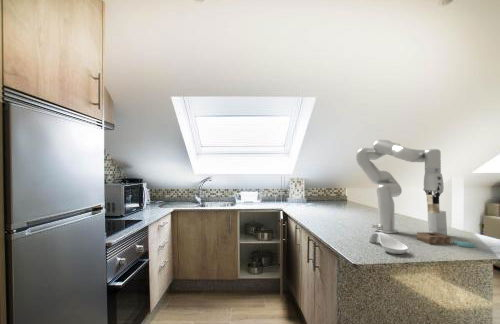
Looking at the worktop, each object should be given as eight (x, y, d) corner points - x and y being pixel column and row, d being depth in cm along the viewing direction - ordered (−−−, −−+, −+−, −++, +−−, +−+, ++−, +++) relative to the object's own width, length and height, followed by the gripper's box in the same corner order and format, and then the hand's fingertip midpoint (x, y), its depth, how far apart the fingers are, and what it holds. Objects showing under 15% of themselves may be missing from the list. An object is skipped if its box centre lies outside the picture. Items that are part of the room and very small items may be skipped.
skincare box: (447, 237, 159) (447, 211, 159) (436, 237, 159) (436, 211, 159) (437, 233, 167) (437, 209, 167) (427, 233, 167) (427, 209, 167)
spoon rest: (414, 256, 125) (413, 241, 125) (391, 257, 123) (391, 242, 123) (381, 242, 148) (381, 229, 148) (362, 243, 146) (362, 230, 146)
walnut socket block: (429, 244, 143) (429, 236, 143) (417, 239, 153) (417, 232, 153) (450, 244, 144) (450, 236, 144) (437, 239, 154) (436, 232, 154)
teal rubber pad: (463, 247, 137) (463, 245, 137) (449, 242, 146) (449, 241, 146) (479, 247, 137) (479, 245, 138) (465, 242, 146) (465, 240, 146)
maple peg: (432, 213, 147) (432, 195, 147) (427, 212, 151) (427, 194, 151) (439, 213, 147) (439, 195, 147) (434, 211, 151) (433, 194, 151)
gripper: (450, 171, 141) (451, 205, 141) (428, 170, 158) (428, 201, 157) (437, 171, 141) (437, 205, 140) (416, 170, 158) (416, 201, 157)
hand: (432, 202), depth 149 cm, fingers closed on maple peg, 4 cm apart
